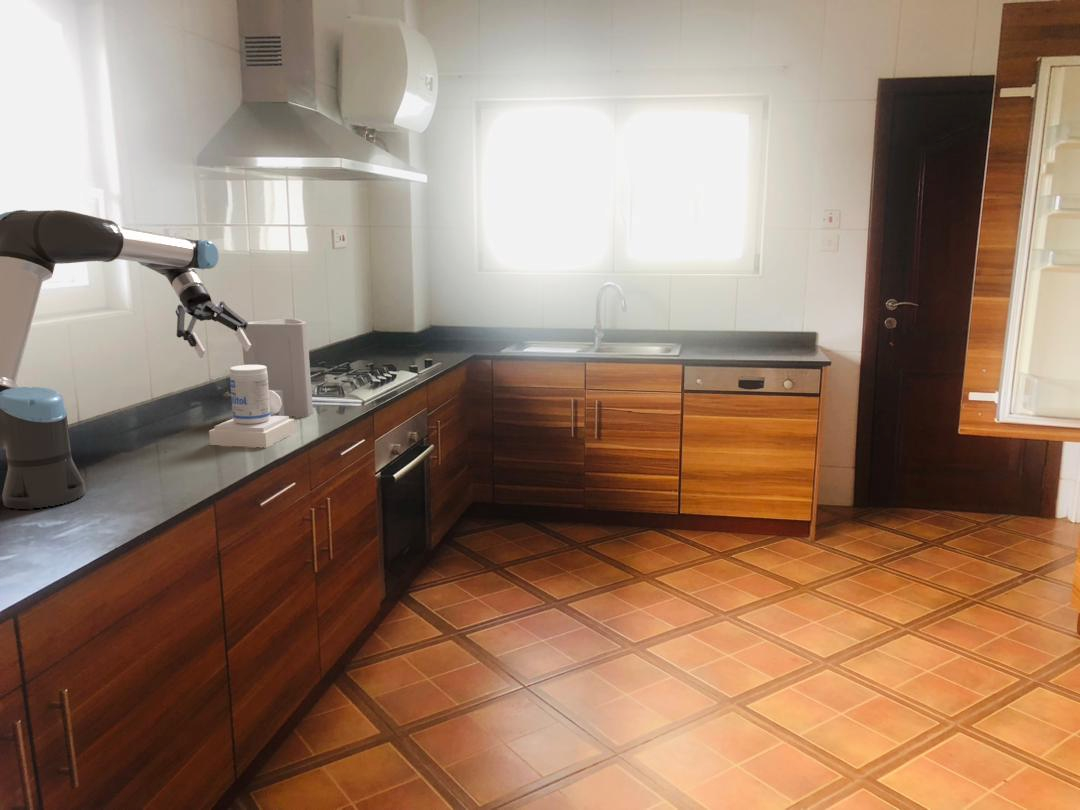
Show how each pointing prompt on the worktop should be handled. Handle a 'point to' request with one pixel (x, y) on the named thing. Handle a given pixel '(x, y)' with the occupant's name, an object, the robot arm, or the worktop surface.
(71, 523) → the worktop surface
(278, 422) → the kitchen scale
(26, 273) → the robot arm
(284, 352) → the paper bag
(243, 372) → the supplement tub
